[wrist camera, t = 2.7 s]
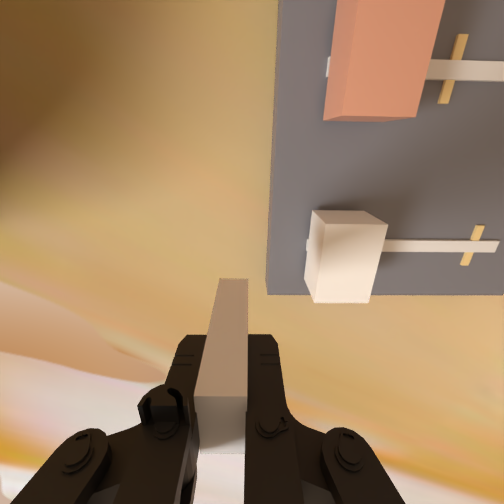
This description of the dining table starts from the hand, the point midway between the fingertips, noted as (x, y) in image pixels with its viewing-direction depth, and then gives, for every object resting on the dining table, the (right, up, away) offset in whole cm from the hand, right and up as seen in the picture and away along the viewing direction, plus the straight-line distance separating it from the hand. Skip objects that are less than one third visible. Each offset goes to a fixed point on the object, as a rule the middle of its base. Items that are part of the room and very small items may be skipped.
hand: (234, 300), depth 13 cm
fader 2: (+8, +3, +7) cm, 10 cm away
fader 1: (+8, +14, +2) cm, 16 cm away
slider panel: (+14, +10, +7) cm, 18 cm away
